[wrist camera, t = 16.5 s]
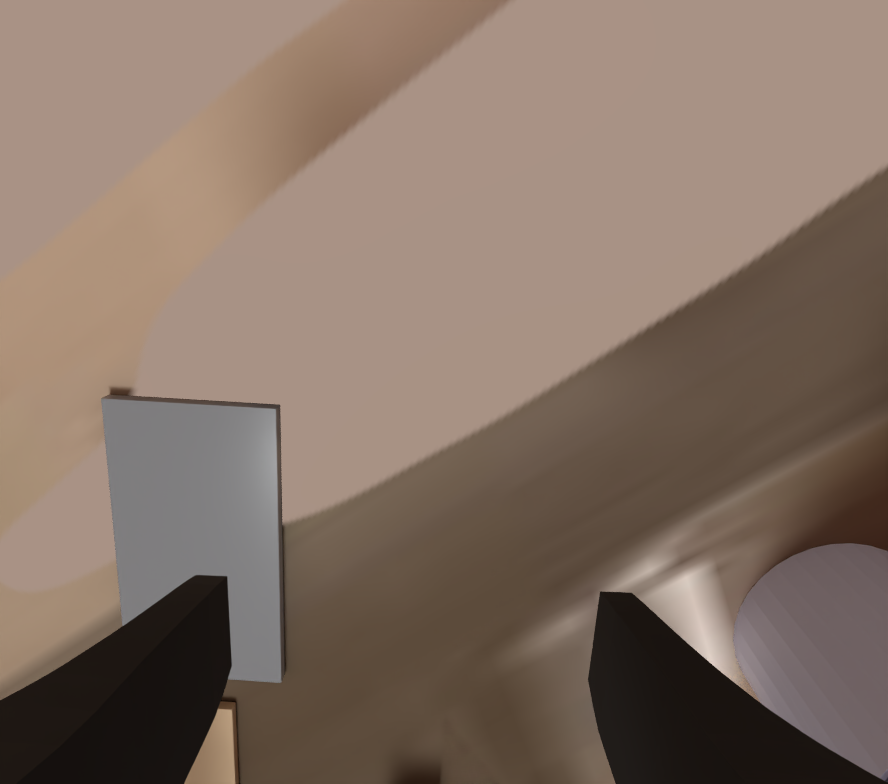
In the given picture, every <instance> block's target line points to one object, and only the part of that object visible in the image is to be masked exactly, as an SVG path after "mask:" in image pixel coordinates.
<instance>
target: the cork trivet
mask: <svg viewBox="0 0 888 784" xmlns="http://www.w3.org/2000/svg"><path fill="white" fill-rule="evenodd" d="M184 784H239V773H238V749H237V725H236V702H223V701H220V704H219V707H218V710H217V713H216V716H215V718H214V721H213V723H212V725H211V727H210V730H209V732H208V734H207V736H206V738H205V740H204V742H203V745H202V747H201V749H200V751H199V753H198V755H197V757H196V760H195V762H194V764H193V766H192V768H191V770H190V772H189V774H188V776H187V778H186V781H185V783H184Z"/></svg>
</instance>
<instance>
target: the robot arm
mask: <svg viewBox="0 0 888 784" xmlns="http://www.w3.org/2000/svg"><path fill="white" fill-rule="evenodd" d="M733 641H734V648H735V655H736V658H737V660H738V663H739V665H740V668H741V670H742V672H743V674H744V675H745V677H746V679H747V680H748V682H749V684H750V685H751V687H752V689H753V690H754V692H755V694H756V695H757V697H758V699H759V700H760V702H761V703H760V702H758V701H757V700H756V699H754V698H753V697H752V696H750V695H749V694H748V693H747V692H745V691H744V690H743V689H741V688H740V687H739V686H738V685H736V684H735V683H734V682H733V681H731V680H730V679H729V678H728V677H726V676H725V675H724V674H723V673H721V672H720V671H719V670H718V669H717V668H715V667H714V666H713V665H712V664H711V663H709V662H708V661H707V660H706V659H705V658H704V657H702V656H701V655H700V654H699V653H698V652H697V651H696V650H694V649H693V648H692V647H691V646H690V645H689V644H688V643H686V642H685V641H684V640H683V639H682V638H681V637H680V636H679V635H678V634H676V633H675V632H674V631H673V630H672V629H671V628H670V627H669V626H668V625H667V624H666V623H665V622H663V621H662V620H661V619H660V618H659V617H658V616H657V615H656V614H655V613H654V612H653V611H651V610H650V609H649V608H648V607H647V606H646V605H645V604H644V603H643V602H642V601H640V600H639V599H638V598H637V597H636V596H635V595H633V594H632V593H623V592H600V597H599V604H598V611H597V619H596V626H595V633H594V640H593V648H592V655H591V662H590V670H589V677H588V682H589V687H590V692H591V697H592V703H593V708H594V712H595V717H596V722H597V726H598V731H599V734H600V737H601V740H602V744H603V747H604V750H605V753H606V756H607V759H608V762H609V765H610V768H611V771H612V774H613V777H614V780H615V783H616V784H888V551H886V550H882V549H879V548H876V547H873V546H869V545H861V544H854V543H845V544H829V545H825V546H820V547H815V548H811V549H808V550H806V551H803V552H801V553H798V554H795V555H793V556H791V557H789V558H788V559H786V560H784V561H783V562H781V563H779V564H777V565H776V566H774V567H773V568H772V569H771V570H770V571H768V572H767V573H766V574H765V575H764V576H762V577H761V578H760V579H759V580H758V582H757V583H756V584H755V585H754V586H753V588H752V589H751V590H750V591H749V592H748V594H747V596H746V598H745V600H744V601H743V603H742V605H741V607H740V609H739V612H738V615H737V619H736V622H735V627H734V639H733ZM231 667H232V658H231V639H230V619H229V600H228V580H227V576H211V575H195V576H193V577H191V578H190V579H188V580H187V581H185V582H184V583H183V584H181V585H180V586H178V587H177V588H175V589H174V590H173V591H171V592H170V593H169V594H167V595H166V596H164V597H163V598H162V599H160V600H159V601H158V602H156V603H155V604H153V605H152V606H151V607H149V608H148V609H146V610H145V611H144V612H142V613H141V614H139V615H138V616H137V617H135V618H134V619H132V620H131V621H129V622H128V623H127V624H125V625H124V626H122V627H121V628H120V629H118V630H117V631H115V632H114V633H112V634H111V635H109V636H108V637H106V638H105V639H103V640H102V641H100V642H98V643H97V644H95V645H94V646H92V647H91V648H89V649H88V650H86V651H85V652H83V653H81V654H80V655H78V656H77V657H75V658H74V659H72V660H71V661H69V662H68V663H66V664H64V665H63V666H61V667H59V668H58V669H56V670H54V671H53V672H51V673H49V674H48V675H46V676H44V677H42V678H41V679H39V680H37V681H36V682H34V683H32V684H30V685H28V686H26V687H24V688H23V689H21V690H19V691H17V692H15V693H13V694H12V695H10V696H8V697H6V698H4V699H2V700H0V784H184V783H185V781H186V778H187V776H188V774H189V772H190V770H191V768H192V766H193V764H194V762H195V760H196V757H197V755H198V753H199V751H200V749H201V747H202V745H203V742H204V740H205V738H206V736H207V734H208V732H209V730H210V727H211V725H212V723H213V721H214V718H215V716H216V713H217V710H218V707H219V704H220V701H221V699H222V696H223V693H224V689H225V686H226V683H227V680H228V677H229V674H230V670H231Z"/></svg>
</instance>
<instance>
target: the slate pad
mask: <svg viewBox="0 0 888 784" xmlns="http://www.w3.org/2000/svg"><path fill="white" fill-rule="evenodd" d="M101 402H102V412H103V423H104V434H105V444H106V454H107V465H108V475H109V487H110V496H111V507H112V519H113V529H114V539H115V550H116V561H117V572H118V582H119V593H120V603H121V614H122V625H123V626H124V625H125V624H127V623H128V622H129V621H131V620H132V619H134V618H135V617H137V616H138V615H139V614H141V613H142V612H144V611H145V610H146V609H148V608H149V607H151V606H152V605H153V604H155V603H156V602H158V601H159V600H160V599H162V598H163V597H164V596H166V595H167V594H169V593H170V592H171V591H173V590H174V589H175V588H177V587H178V586H180V585H181V584H183V583H184V582H185V581H187V580H188V579H190V578H191V577H193V576H195V575H211V576H227V580H228V600H229V619H230V639H231V658H232V667H231V670H230V674H229V677H228V679H233V680H247V681H262V682H276V683H281V682H282V680H283V677H284V675H285V656H284V599H283V542H282V489H281V488H282V487H281V486H282V485H281V432H280V431H281V430H280V429H281V428H280V405H274V404H257V403H241V402H225V401H208V400H190V399H173V398H157V397H141V396H139V397H138V396H124V395H107V396H105V397H103V398H101Z"/></svg>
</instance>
